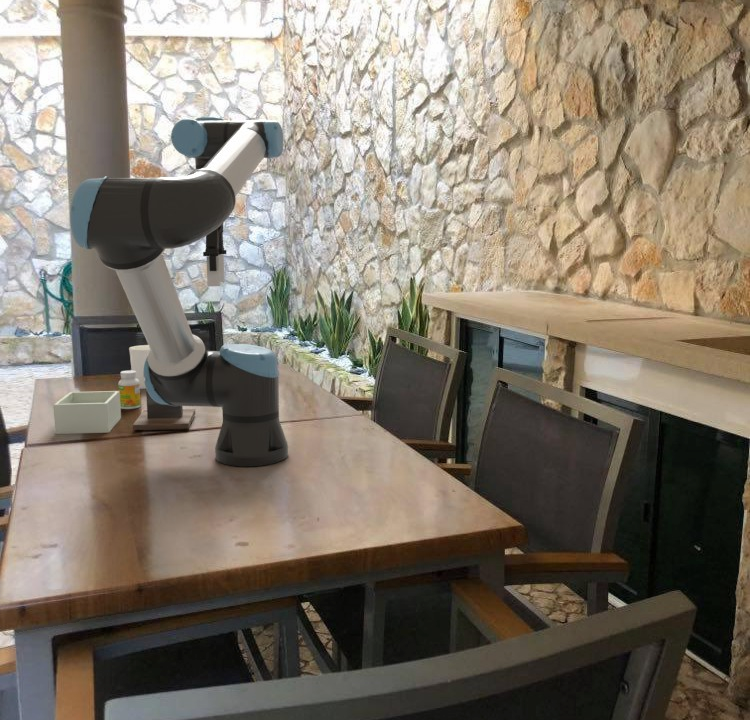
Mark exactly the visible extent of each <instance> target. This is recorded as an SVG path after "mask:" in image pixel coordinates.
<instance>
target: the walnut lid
mask: <svg viewBox="0 0 750 720" xmlns="http://www.w3.org/2000/svg"><path fill="white" fill-rule="evenodd" d="M145 392H146V393H145V394H146V395H145V396H146V410H145V409H144V410H143V411H142V412H141V413H140V415H139V416H138V417H137V419H136V420H135V421H134V423H133V424H132V430H133V431H142V432H143V431H167V430H171V431H172V430H174V431H175V430H177V431H178V430H184V429H189V428H190V427H191V423H192V421H193V419H194V418H195V416H196V408H183V407H184V406H170V405H163V404H159V403H157V402H155V401H154V400H153V399H152V398H151V397H150V395H149V394H148V392H147V390H146V389H145Z"/></svg>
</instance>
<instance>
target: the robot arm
mask: <svg viewBox="0 0 750 720" xmlns="http://www.w3.org/2000/svg"><path fill="white" fill-rule="evenodd" d="M283 134H284V133H283V128H282V126H281V124H280V123H279V122H278V121H277V120H274V119H273V120H271V119H252V120H249V119H248V120H246V119H245V120H227V119H225V118H222V117H216V116H200V117H197V118H183V119H180V120H179V121H177V122H176V123H175V124H174V125H173V128H172V129H171V137H170V139H171V143H172V146H173V147H174V149H175V151H176V152H177V153H179V154H181V155H183V156H185V157H187V158H189V159H194V160H195V163H194V164H195V170H193V171H191V172H190V173H188V174H187V175H185V176H175V177H174V176H173V177H170V176H167V177H166V176H165V177H162V176H161V177H113V178H112V177H109V176H103V177H99V178H88V179H85V180H84V181H82V182H80V184H78V187H76V189H75V191H74V194H73V196H72V200H71V205H70V213H69V214H70V215H69V217H70V218H69V219H70V220H69V221H70V229H71V234H72V236H73V239H74V241H75V243H76V244H77V245H78V246H79V247H81V248H84V249H86V250H92V249H94V250H95V251H96V253H97V254H98V255H97V256H98V258H99V260H100V262H101V263H102V264H103V266H105V267H106V268H107V269H110V270H113V271H115V273H116V275H117V277H118V279H119V282H120V284H121V286H122V288H123V291H124V293H125V295H126V298H127V300H128V302H129V305H130V307H131V309H132V311H133V313H134V315H135V319H136V321H137V322H138V324H139V327H140V329H141V332H142V333H143V337H144V338H145V340H146V342H147V345H149V347H150V349H151V350H150V352H149V354H148V356H147V358H146V361H145V364H144V371H143V374H144V377H145V382H144V383H145V387H146V389H145V391H146V390H147V392H148V394H149V395H150V397H151V398H152V399H153V400H154V401H155V402H157V403H159V404H163V405H170V406H182V407H209V408H210V407H213V408H221V410H222V424H221V427H220V430H219V433H218V437H217V441H216V444H215V448H214V449H215V450H214V454H215V455H214V456H215V457H214V458H215V460H216V461H217V462H219V463H221V464H224V465H226V466H233V467H260V466H261V467H262V466H267V465H272V464H276V463H279V462H282V461H284V460H285V459H287V457H289V445H288V441H287V438H286V436H285V433H284V429H283V427H282V425H281V421H280V405H279V404H280V398H279V397H280V394H279V390H280V389H279V388H280V387H279V383H280V382H279V376H280V371H279V365H278V364H279V363H278V357H277V355H276V353H275V352H274V351H273V350H271V349H269V348H267V347H263V346H260V345H255V344H246V343H227V344H223V345H222V346H221V347H220V349H219V350H207V348H206V345H205V343H204V342H203V340H202V338H200V337H199V336H198V335H196V334H193V333H192V330H191V327H190V324H189V322H188V320H187V319H188V318H187V317H186V314H185V311H184V308H183V307H182V304H181V300H180V298H179V295H178V293H177V290H176V288H175V285H174V282H173V279H172V276H171V274H170V272H169V269H168V266H167V264H166V260H165V258H164V256H163V253H164V252H165V250H168V249H170V250H172V249H179V248H183V247H185V246H188V245H191V244H194V243H195V242H198V241H200V240H202V239H203V238H205V249H204V250H205V251H203V252H202V255H203V257H206V279H207V280H206V282H207V287H221V283H225V255H227V249H225V248H224V235H223V234H224V223H225V222H226V221H227V219H229V217H230V216H231V214H232V212H233V211H234V209H235V207H236V201H237V200H236V198H237V196H238V194H239V193H240V191H241V190H242V189H243V187H244V185H245V184H246V183H247V181H248V180H249V179H250V177H251V176H252V175H253V173H254V172H255V170H256V169H257V167H258V166H259V165H260V163H261V162H262V161H263V159H269V160H270V159H274V158H278V157H280V156H281V155H282V153H283V150H284V135H283Z"/></svg>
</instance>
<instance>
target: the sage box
mask: <svg viewBox="0 0 750 720" xmlns="http://www.w3.org/2000/svg"><path fill="white" fill-rule="evenodd" d="M121 411H122V409H121V408H120V391H119V390H108V391H107V390H106V391H105V390H103V391H102V390H101V391H69V392H68V393H66V394H65V395H63V397H61V398H60V399H59V400H57V402H56V401H55V403H54V404H53V415H54V416H53V417H54V418H53V419H54V429H55V431H54V434H55V435H65V434H67V435H68V434H69V435H70V434H98V433H99V434H103V433H106V434H107V433H110V432H111V430H112V429H113V428H114V427H115V426H116V425H117V424H118V422H119V421H120V420H121V418H122V412H121Z"/></svg>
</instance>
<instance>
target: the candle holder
mask: <svg viewBox="0 0 750 720" xmlns="http://www.w3.org/2000/svg"><path fill="white" fill-rule="evenodd" d="M150 350H151V349H150V347H149V345H148V344H143V345H142V344H141V345H134V346H130V347H129V348H128V351H129V358H130V366H131V367H130V370H132V371H136V379H138V380H139V384H140V390H146V387H145V383H144V382H145V377H144V374H143V371H144V364H145V361H146V358H147V356H148V354H149V352H150Z"/></svg>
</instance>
